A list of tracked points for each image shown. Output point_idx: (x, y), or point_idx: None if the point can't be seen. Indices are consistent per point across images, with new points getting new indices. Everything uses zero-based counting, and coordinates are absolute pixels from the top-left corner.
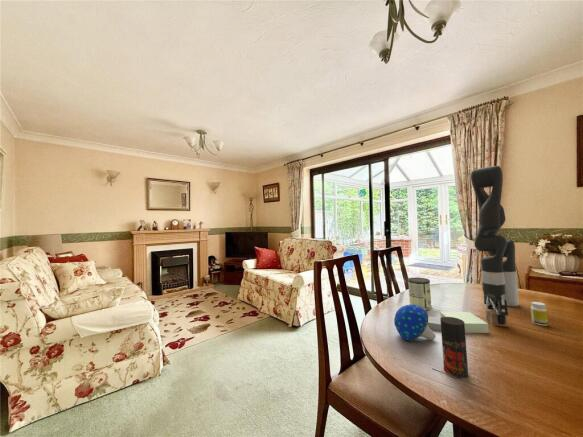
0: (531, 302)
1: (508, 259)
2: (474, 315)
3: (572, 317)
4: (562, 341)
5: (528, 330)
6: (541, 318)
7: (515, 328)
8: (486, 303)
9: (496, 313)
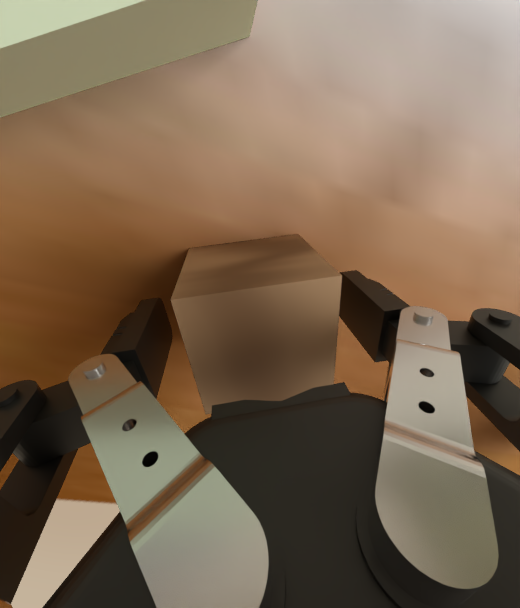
0: None
1: None
2: (85, 11)
3: None
4: (99, 479)
5: (184, 411)
6: None
7: (186, 368)
8: (448, 334)
9: (190, 349)
